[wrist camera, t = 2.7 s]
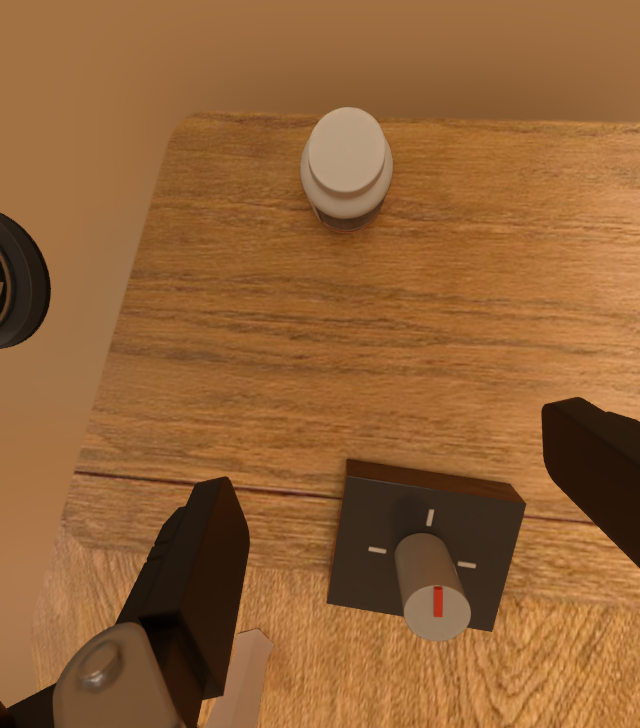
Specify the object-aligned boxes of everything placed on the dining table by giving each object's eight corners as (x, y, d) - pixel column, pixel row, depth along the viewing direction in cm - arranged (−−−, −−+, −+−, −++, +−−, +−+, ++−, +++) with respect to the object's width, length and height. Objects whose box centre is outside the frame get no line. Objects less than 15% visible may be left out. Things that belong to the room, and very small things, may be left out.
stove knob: (448, 580, 31) (471, 647, 25) (394, 579, 31) (404, 644, 25) (450, 532, 30) (473, 589, 24) (393, 532, 30) (404, 588, 25)
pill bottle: (397, 199, 28) (422, 154, 19) (342, 249, 29) (340, 230, 20) (350, 141, 28) (351, 63, 18) (296, 194, 29) (270, 147, 19)
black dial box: (328, 577, 35) (326, 605, 32) (346, 458, 33) (346, 476, 29) (480, 603, 34) (493, 634, 31) (510, 483, 32) (527, 504, 29)
